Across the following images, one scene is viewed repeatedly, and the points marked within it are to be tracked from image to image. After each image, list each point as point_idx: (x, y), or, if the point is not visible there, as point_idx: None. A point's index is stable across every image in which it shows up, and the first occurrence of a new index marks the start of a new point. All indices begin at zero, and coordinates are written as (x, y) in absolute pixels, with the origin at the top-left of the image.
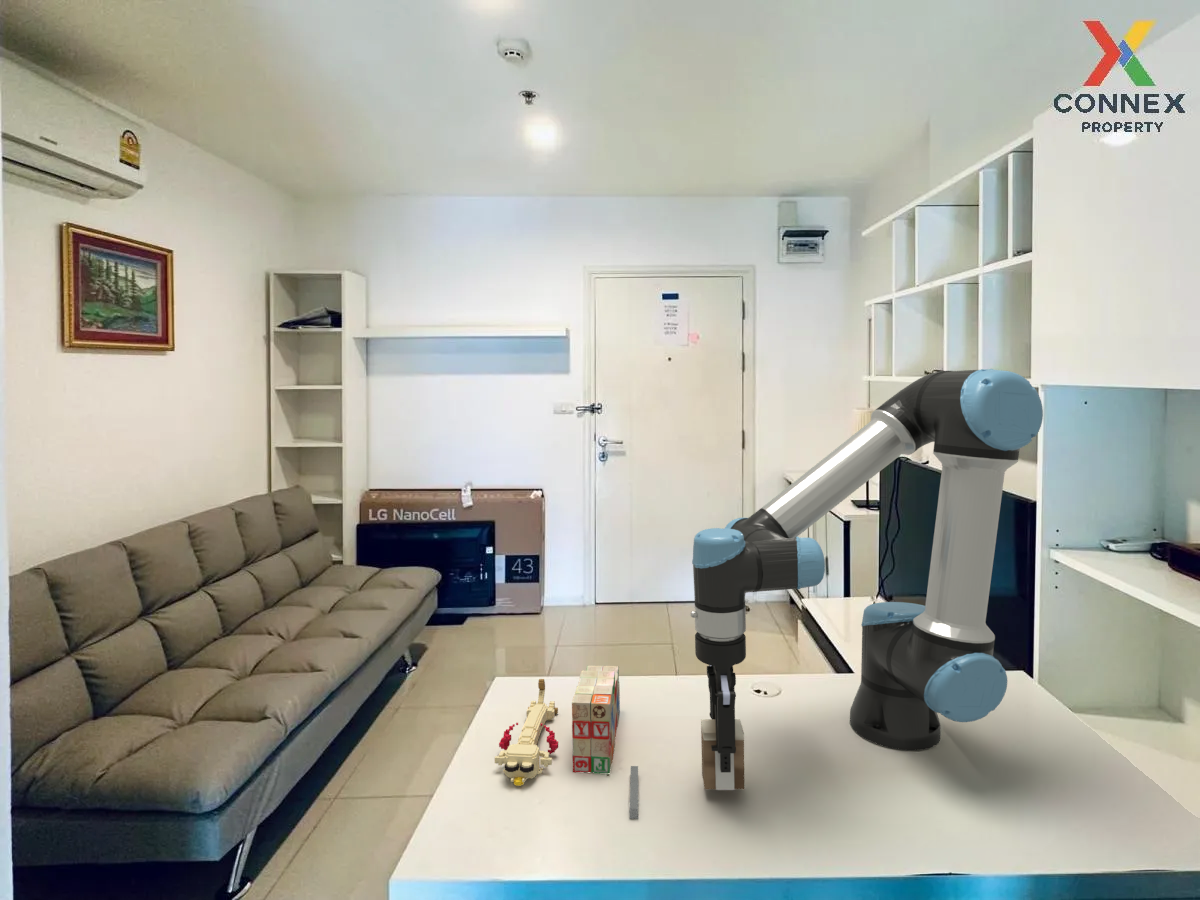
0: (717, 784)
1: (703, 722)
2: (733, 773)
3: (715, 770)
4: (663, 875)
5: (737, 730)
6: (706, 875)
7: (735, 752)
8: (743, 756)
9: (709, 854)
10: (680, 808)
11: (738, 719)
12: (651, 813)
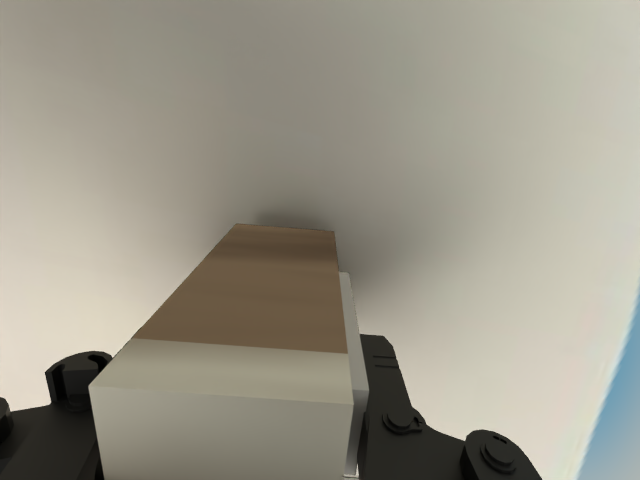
0: None
1: None
2: (353, 306)
3: None
4: (580, 452)
5: (311, 446)
6: (608, 373)
7: (506, 439)
8: (339, 293)
9: (540, 355)
10: None
11: (94, 398)
12: None
